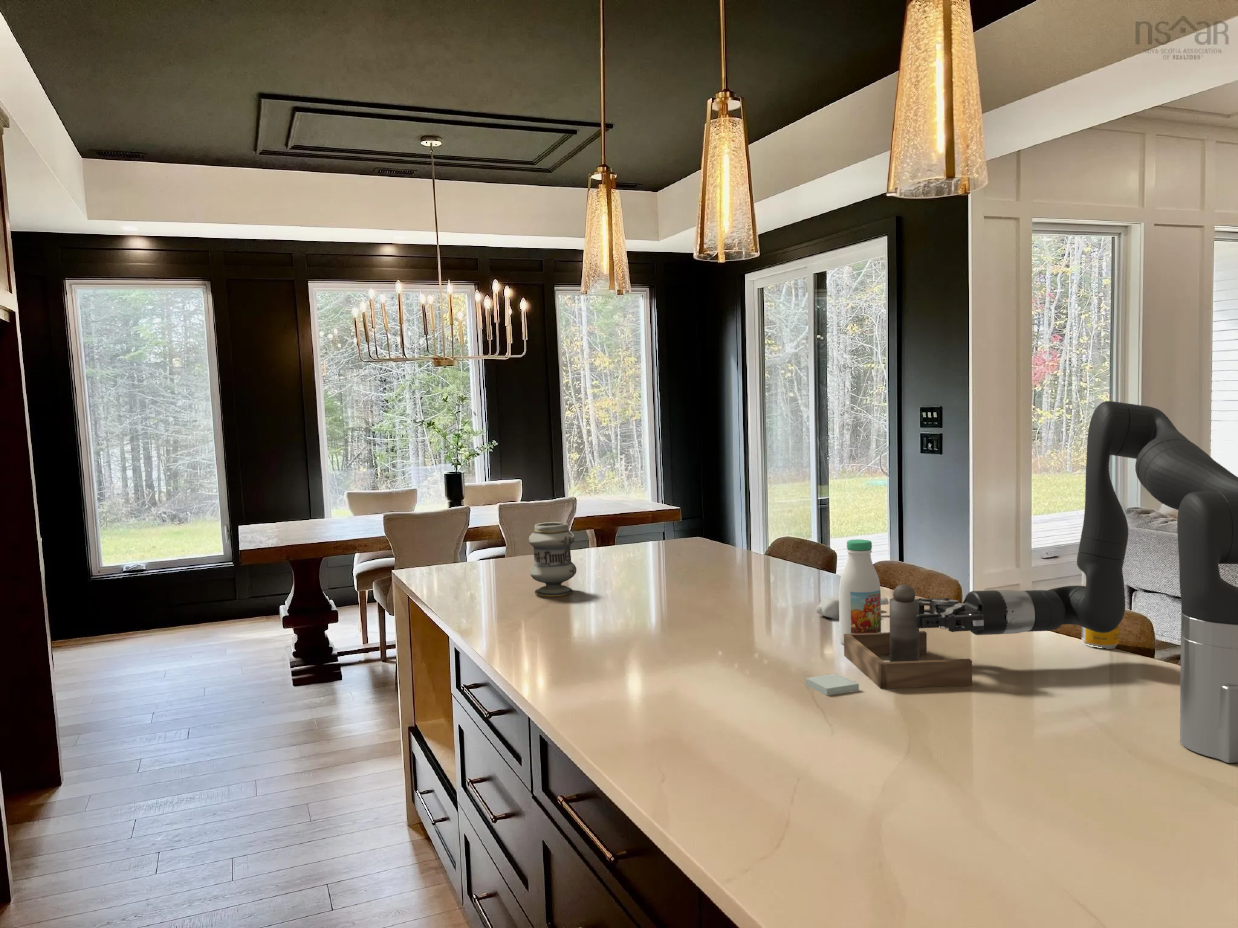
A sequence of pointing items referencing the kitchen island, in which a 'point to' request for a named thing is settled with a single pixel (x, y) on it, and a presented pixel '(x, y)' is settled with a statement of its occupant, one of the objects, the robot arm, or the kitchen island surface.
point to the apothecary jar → (552, 558)
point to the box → (903, 664)
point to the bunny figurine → (835, 606)
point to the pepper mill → (904, 625)
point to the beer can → (1096, 638)
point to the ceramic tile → (832, 684)
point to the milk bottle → (859, 592)
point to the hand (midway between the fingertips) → (906, 615)
